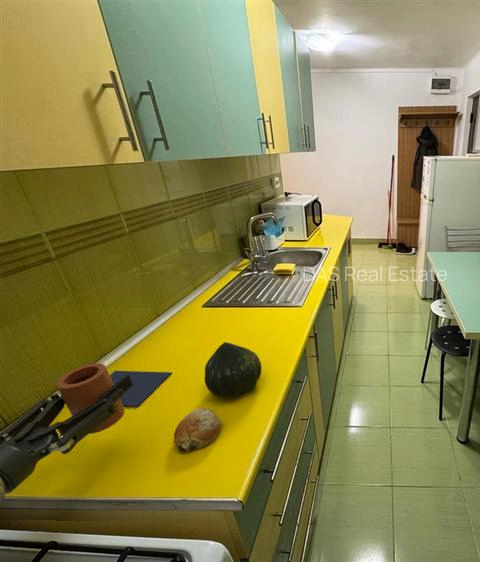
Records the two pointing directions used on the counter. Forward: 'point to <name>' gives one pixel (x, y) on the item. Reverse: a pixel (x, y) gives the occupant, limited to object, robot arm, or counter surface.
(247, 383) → the squash
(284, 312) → the counter surface
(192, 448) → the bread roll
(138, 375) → the cloth
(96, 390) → the jar
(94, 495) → the counter surface
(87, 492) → the counter surface
